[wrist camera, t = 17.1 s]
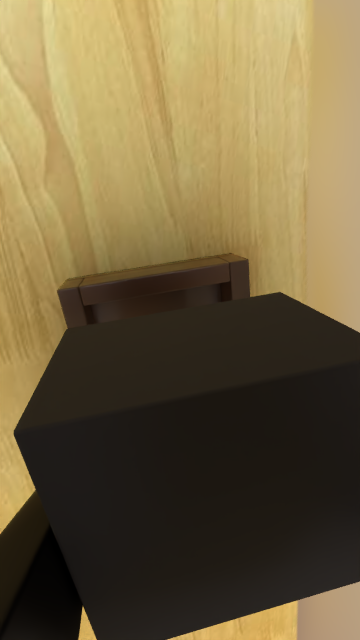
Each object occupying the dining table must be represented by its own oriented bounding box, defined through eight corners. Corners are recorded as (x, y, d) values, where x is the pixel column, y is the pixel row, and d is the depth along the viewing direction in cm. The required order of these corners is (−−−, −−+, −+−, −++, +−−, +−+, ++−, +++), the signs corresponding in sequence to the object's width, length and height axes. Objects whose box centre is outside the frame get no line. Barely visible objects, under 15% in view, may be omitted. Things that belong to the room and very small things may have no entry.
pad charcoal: (280, 291, 8) (401, 352, 5) (280, 452, 11) (364, 581, 7) (66, 328, 8) (10, 432, 4) (112, 492, 10) (103, 660, 6)
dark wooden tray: (231, 252, 17) (248, 259, 15) (245, 478, 24) (259, 508, 21) (66, 278, 16) (56, 290, 14) (127, 507, 23) (128, 542, 20)
